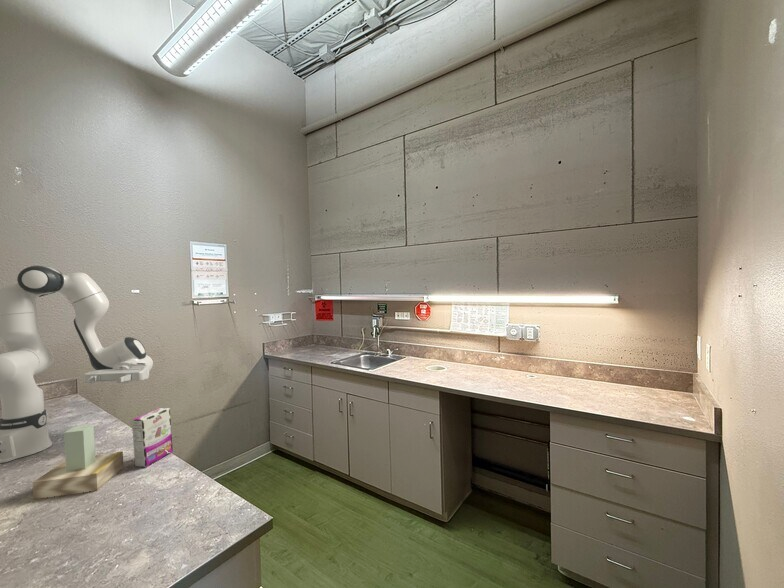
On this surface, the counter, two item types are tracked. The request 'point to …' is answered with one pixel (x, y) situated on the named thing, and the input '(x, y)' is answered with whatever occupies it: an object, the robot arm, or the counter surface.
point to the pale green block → (79, 447)
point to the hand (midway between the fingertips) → (104, 380)
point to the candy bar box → (152, 436)
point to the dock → (78, 477)
